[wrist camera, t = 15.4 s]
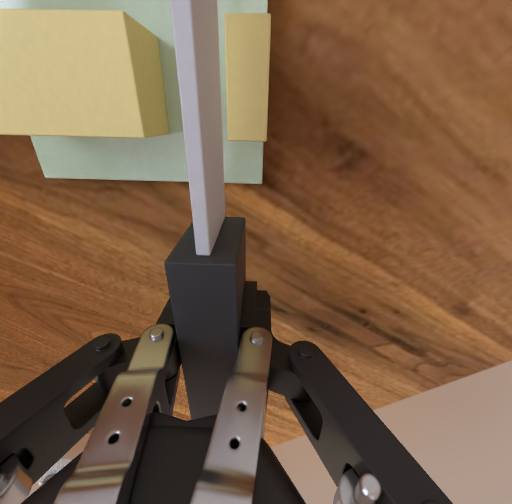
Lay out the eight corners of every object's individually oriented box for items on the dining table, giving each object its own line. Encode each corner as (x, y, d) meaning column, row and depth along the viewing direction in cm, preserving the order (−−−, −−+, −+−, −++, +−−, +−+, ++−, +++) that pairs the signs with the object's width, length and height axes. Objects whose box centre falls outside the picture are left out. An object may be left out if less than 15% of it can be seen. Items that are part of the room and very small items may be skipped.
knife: (245, -155, 7) (221, -505, 3) (245, 349, 16) (239, 422, 12) (159, -155, 7) (30, -498, 3) (208, 347, 16) (191, 421, 12)
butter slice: (266, 137, 15) (266, 142, 12) (235, 136, 15) (227, 141, 12) (269, 38, 13) (271, 12, 10) (234, 37, 13) (223, 11, 10)
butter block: (169, 134, 15) (144, 138, 12) (52, 131, 15) (-3, 134, 12) (157, 35, 13) (123, 10, 10) (21, 33, 13) (-56, 7, 10)
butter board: (262, 180, 17) (262, 184, 16) (55, 174, 17) (44, 177, 16) (268, -29, 12) (269, -40, 11) (-15, -33, 13) (-36, -44, 12)
